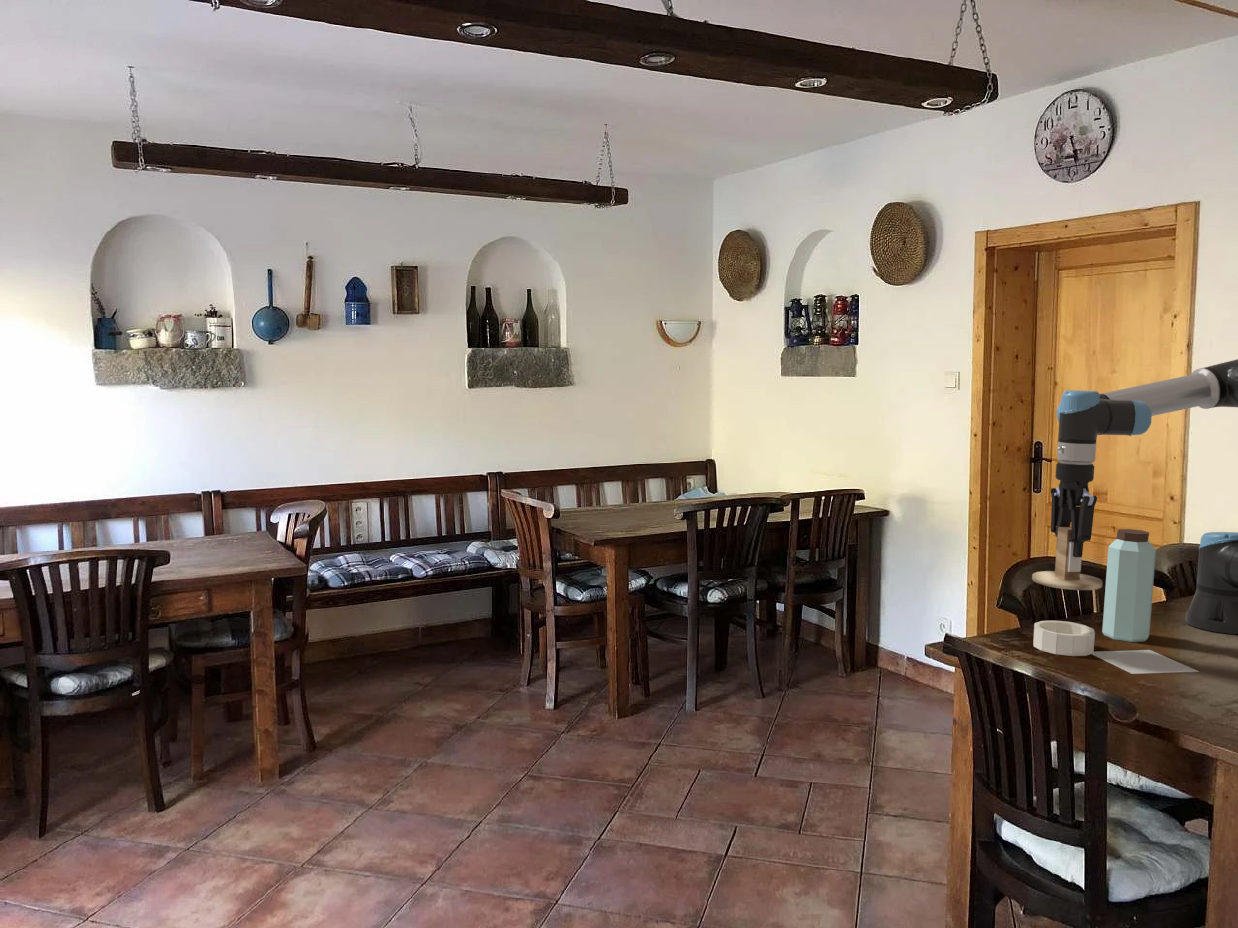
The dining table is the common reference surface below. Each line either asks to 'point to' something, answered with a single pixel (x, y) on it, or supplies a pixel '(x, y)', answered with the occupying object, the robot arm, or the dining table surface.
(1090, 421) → the robot arm
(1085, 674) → the dining table surface
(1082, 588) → the wooden post on disc
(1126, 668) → the mat
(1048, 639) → the bowl
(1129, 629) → the water bottle
